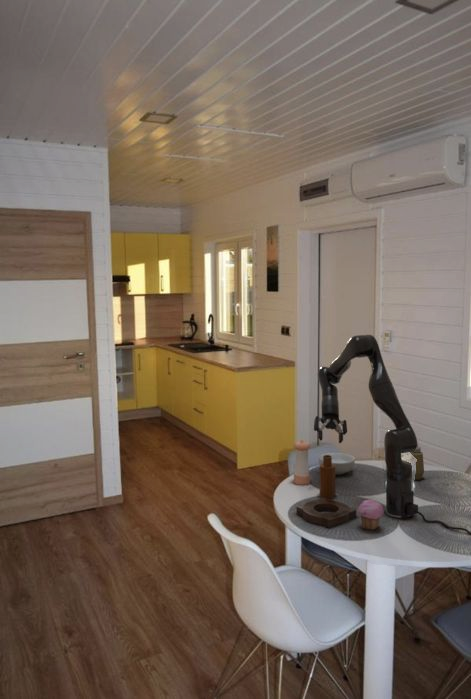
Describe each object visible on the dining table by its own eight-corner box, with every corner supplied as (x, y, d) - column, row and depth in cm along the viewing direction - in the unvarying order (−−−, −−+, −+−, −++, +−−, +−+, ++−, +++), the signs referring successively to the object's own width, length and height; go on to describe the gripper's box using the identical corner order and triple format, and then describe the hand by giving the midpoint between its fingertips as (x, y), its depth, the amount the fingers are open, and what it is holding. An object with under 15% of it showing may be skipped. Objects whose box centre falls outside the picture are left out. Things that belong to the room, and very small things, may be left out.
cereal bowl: (347, 480, 259) (347, 464, 259) (313, 474, 268) (312, 459, 267) (359, 469, 274) (359, 455, 273) (327, 464, 282) (327, 450, 282)
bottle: (338, 495, 240) (338, 456, 238) (327, 499, 236) (327, 459, 234) (326, 491, 245) (326, 453, 243) (316, 495, 241) (316, 456, 239)
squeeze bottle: (402, 476, 263) (402, 437, 261) (417, 474, 266) (417, 436, 264) (412, 481, 256) (413, 442, 254) (428, 479, 258) (428, 440, 256)
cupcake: (364, 520, 214) (364, 495, 213) (386, 526, 210) (386, 499, 208) (354, 529, 207) (354, 502, 206) (377, 534, 202) (378, 507, 201)
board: (360, 516, 218) (360, 509, 218) (327, 529, 207) (327, 521, 207) (324, 503, 233) (324, 496, 232) (292, 514, 221) (292, 507, 221)
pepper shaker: (305, 478, 263) (305, 437, 261) (313, 483, 256) (312, 441, 254) (291, 480, 260) (290, 439, 258) (298, 485, 253) (298, 443, 251)
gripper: (316, 401, 251) (317, 435, 242) (348, 405, 252) (349, 439, 243) (312, 408, 257) (312, 442, 248) (343, 413, 259) (344, 446, 250)
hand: (330, 441), depth 246 cm, fingers open, 8 cm apart
